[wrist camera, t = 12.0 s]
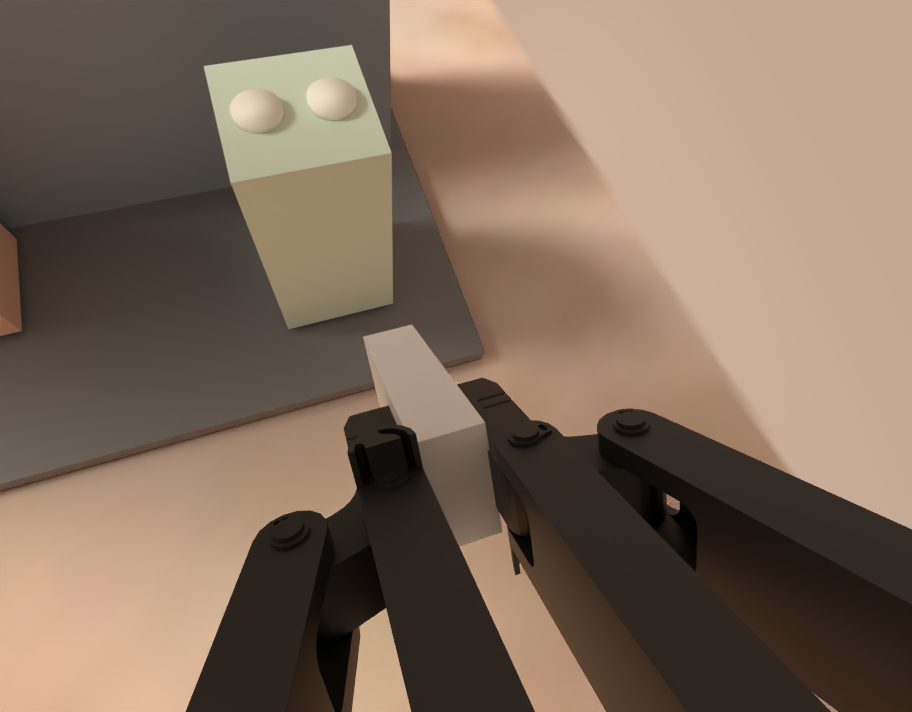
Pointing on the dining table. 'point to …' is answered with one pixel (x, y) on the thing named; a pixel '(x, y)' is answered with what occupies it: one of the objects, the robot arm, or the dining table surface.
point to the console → (173, 233)
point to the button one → (9, 284)
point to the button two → (310, 178)
